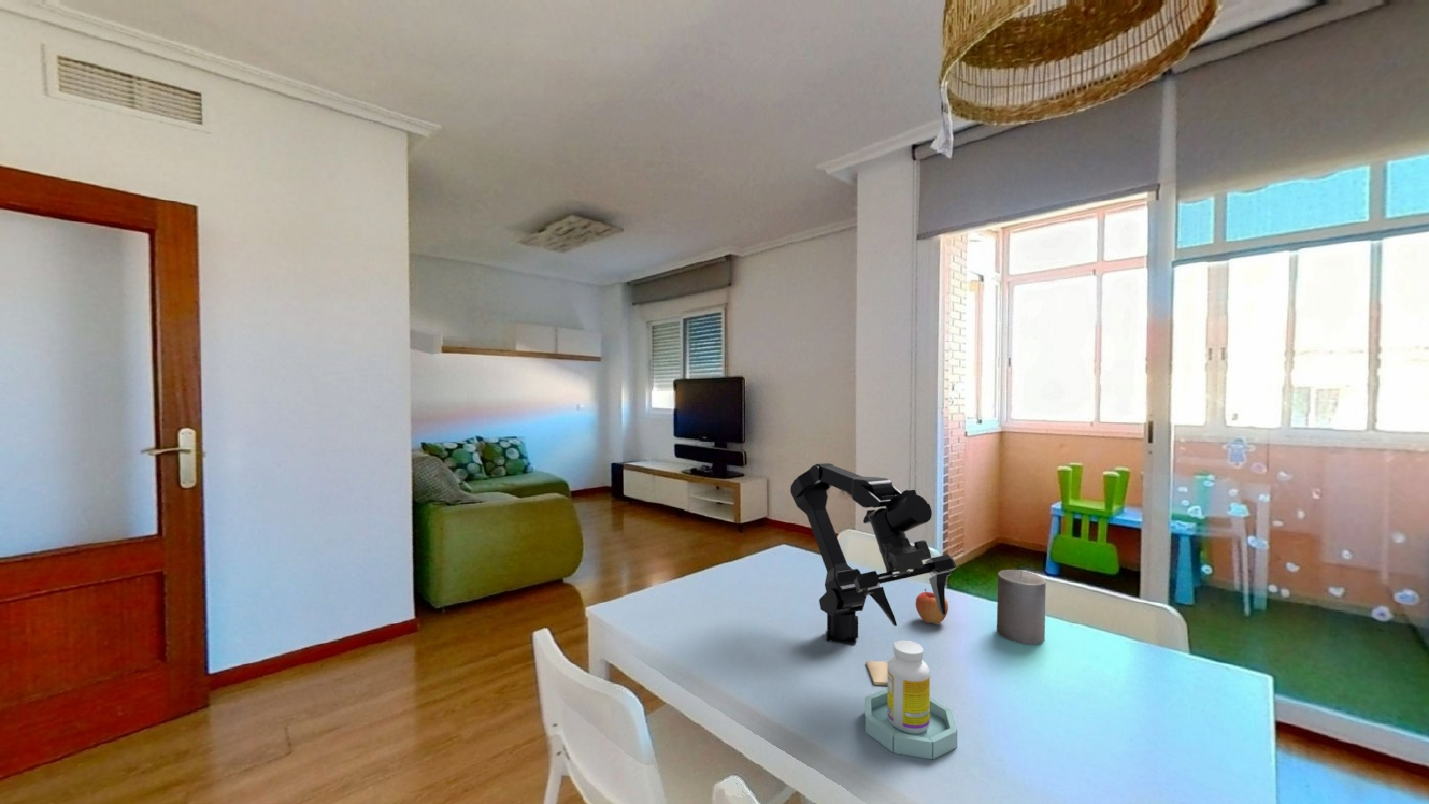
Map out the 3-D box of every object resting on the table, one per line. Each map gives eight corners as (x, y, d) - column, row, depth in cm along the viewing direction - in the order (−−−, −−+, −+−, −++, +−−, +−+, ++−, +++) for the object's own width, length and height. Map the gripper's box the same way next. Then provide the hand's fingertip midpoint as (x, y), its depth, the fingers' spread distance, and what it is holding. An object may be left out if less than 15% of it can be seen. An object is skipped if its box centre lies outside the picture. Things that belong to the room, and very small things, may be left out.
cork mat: (874, 684, 101) (874, 681, 101) (866, 663, 109) (866, 660, 109) (928, 687, 100) (928, 684, 100) (916, 666, 108) (916, 663, 108)
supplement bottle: (937, 725, 87) (938, 648, 87) (914, 741, 84) (915, 661, 83) (902, 706, 93) (902, 633, 93) (878, 720, 89) (879, 644, 89)
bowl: (865, 747, 83) (865, 731, 83) (864, 698, 97) (864, 684, 97) (962, 764, 79) (962, 747, 79) (947, 710, 93) (947, 696, 93)
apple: (949, 630, 124) (949, 597, 124) (916, 626, 127) (916, 593, 127) (946, 618, 131) (946, 586, 131) (915, 614, 134) (915, 582, 134)
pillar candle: (989, 625, 127) (989, 563, 127) (1030, 625, 127) (1031, 564, 126) (1010, 645, 117) (1011, 578, 117) (1055, 645, 117) (1056, 578, 117)
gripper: (850, 540, 99) (877, 629, 92) (947, 518, 99) (983, 606, 92) (844, 551, 109) (868, 632, 102) (932, 531, 109) (963, 610, 102)
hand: (919, 620), depth 99 cm, fingers open, 9 cm apart
